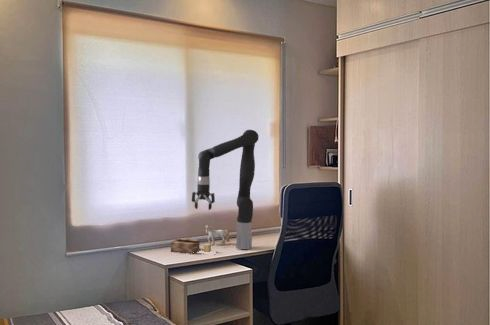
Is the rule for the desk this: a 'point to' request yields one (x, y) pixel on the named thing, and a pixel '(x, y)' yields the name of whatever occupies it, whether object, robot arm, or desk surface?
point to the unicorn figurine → (217, 234)
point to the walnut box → (185, 245)
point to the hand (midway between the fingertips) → (203, 209)
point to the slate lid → (207, 247)
